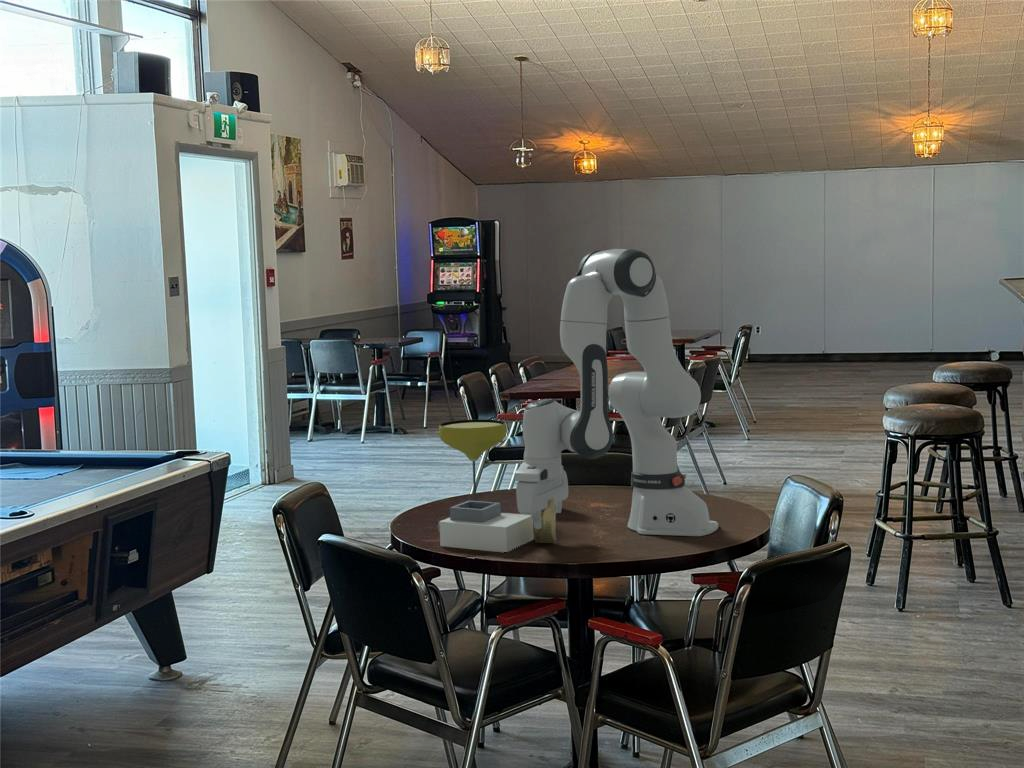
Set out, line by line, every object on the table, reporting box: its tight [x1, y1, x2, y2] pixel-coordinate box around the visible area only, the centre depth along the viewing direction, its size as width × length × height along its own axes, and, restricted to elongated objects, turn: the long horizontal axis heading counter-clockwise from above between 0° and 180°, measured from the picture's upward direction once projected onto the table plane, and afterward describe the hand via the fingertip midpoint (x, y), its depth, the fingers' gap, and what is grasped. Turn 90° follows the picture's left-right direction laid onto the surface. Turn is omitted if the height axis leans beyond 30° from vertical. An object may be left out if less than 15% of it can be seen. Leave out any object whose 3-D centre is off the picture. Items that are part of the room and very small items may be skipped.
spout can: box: [533, 498, 557, 544], centre depth 265 cm, size 5×5×13 cm
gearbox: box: [437, 499, 535, 553], centre depth 269 cm, size 22×14×9 cm, turn 62°
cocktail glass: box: [438, 419, 507, 501], centre depth 299 cm, size 18×18×25 cm
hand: (545, 525), depth 265 cm, fingers closed on spout can, 5 cm apart
